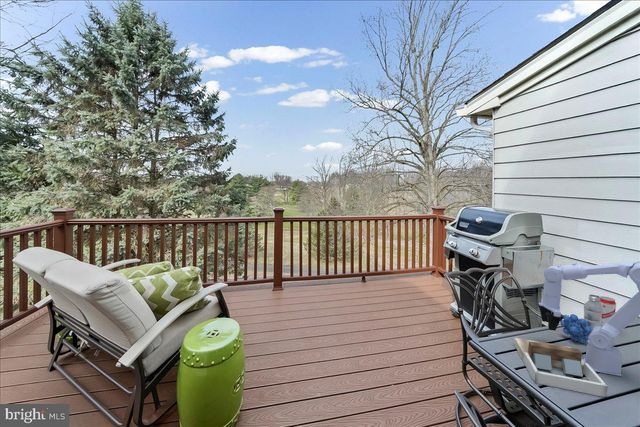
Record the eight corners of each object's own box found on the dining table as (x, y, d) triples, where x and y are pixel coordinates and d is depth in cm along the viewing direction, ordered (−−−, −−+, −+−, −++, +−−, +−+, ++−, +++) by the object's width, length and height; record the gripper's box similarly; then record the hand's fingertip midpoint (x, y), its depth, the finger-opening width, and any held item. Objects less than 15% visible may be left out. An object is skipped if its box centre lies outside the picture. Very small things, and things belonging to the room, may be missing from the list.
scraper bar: (576, 360, 112) (578, 349, 112) (580, 364, 110) (582, 353, 109) (527, 351, 118) (528, 341, 117) (530, 355, 115) (531, 345, 114)
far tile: (548, 355, 113) (550, 356, 111) (549, 369, 111) (551, 370, 109) (533, 352, 114) (534, 353, 113) (534, 367, 113) (535, 367, 111)
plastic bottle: (575, 334, 137) (580, 293, 134) (589, 334, 137) (594, 293, 135) (589, 342, 130) (594, 299, 128) (603, 341, 131) (609, 298, 128)
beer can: (616, 334, 137) (620, 301, 135) (600, 333, 138) (604, 300, 136) (606, 327, 143) (610, 296, 141) (591, 326, 144) (595, 295, 142)
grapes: (555, 338, 134) (558, 313, 132) (560, 333, 138) (563, 309, 136) (589, 350, 124) (592, 323, 123) (593, 345, 128) (596, 319, 127)
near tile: (577, 361, 110) (580, 361, 108) (580, 376, 108) (582, 376, 106) (561, 358, 112) (563, 358, 110) (563, 373, 109) (566, 373, 108)
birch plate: (570, 353, 122) (570, 346, 121) (586, 373, 109) (587, 365, 109) (514, 344, 128) (514, 337, 128) (523, 361, 116) (524, 354, 116)
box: (586, 373, 109) (587, 363, 109) (606, 397, 97) (607, 386, 97) (523, 361, 116) (524, 352, 116) (534, 382, 104) (535, 372, 104)
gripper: (534, 287, 130) (531, 316, 132) (546, 300, 117) (543, 332, 119) (553, 289, 128) (550, 319, 130) (568, 302, 115) (564, 335, 116)
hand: (548, 325), depth 124 cm, fingers open, 7 cm apart
